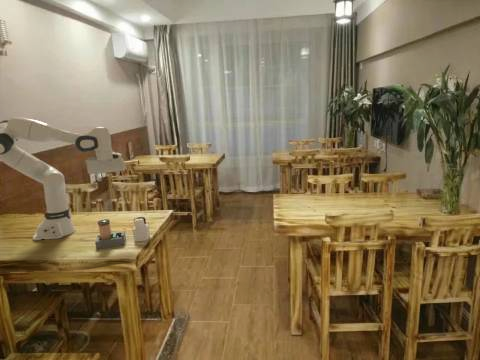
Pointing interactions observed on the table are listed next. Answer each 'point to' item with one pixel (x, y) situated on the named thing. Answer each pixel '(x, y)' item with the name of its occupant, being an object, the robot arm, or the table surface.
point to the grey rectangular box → (111, 241)
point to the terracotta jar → (105, 229)
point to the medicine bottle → (141, 230)
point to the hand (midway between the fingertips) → (108, 180)
